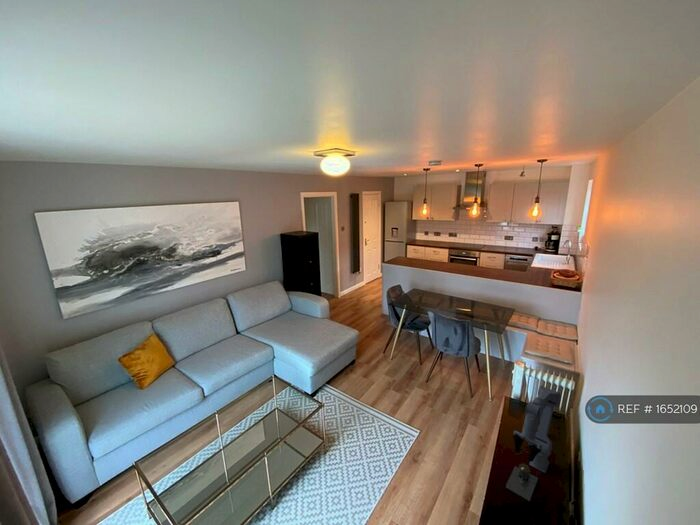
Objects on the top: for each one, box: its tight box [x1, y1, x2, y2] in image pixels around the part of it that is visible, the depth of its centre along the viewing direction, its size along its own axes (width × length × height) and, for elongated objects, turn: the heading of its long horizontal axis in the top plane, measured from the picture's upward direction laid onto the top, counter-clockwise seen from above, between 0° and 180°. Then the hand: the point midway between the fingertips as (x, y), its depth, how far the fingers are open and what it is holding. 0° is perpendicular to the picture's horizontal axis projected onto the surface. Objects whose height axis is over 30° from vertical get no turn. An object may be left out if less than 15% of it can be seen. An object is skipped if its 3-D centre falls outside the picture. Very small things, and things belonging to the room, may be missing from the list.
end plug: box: [518, 462, 531, 482], centre depth 155 cm, size 5×5×7 cm
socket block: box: [505, 465, 539, 502], centre depth 153 cm, size 15×11×2 cm
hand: (523, 456), depth 143 cm, fingers open, 7 cm apart
